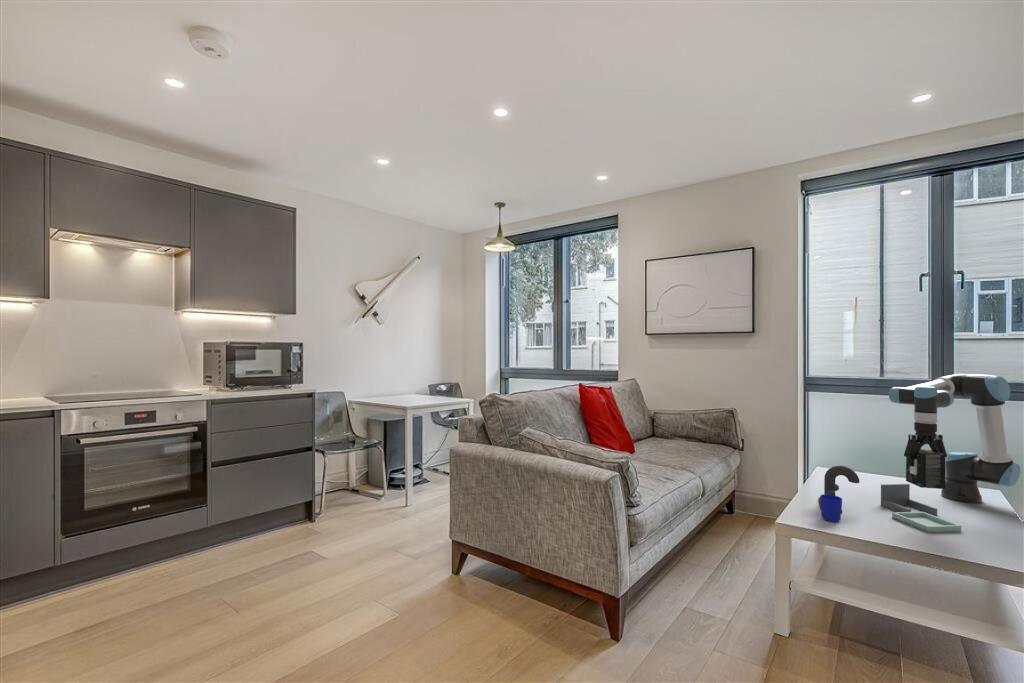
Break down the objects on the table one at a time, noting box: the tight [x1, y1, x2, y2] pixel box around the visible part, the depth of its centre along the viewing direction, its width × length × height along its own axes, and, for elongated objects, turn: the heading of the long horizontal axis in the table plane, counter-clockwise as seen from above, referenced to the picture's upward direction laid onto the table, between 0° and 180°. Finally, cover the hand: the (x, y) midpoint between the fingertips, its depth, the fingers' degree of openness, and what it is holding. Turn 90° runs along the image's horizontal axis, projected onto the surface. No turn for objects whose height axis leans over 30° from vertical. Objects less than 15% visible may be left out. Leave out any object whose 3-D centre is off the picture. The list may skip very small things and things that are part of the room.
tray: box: [891, 511, 962, 534], centre depth 209 cm, size 15×17×2 cm
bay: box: [880, 483, 938, 516], centre depth 227 cm, size 14×15×10 cm
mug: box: [819, 494, 843, 523], centre depth 216 cm, size 8×12×10 cm
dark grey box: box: [905, 448, 946, 490], centre depth 209 cm, size 11×9×15 cm
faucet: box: [818, 465, 860, 514], centre depth 230 cm, size 18×16×20 cm
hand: (925, 473), depth 209 cm, fingers closed on dark grey box, 10 cm apart
